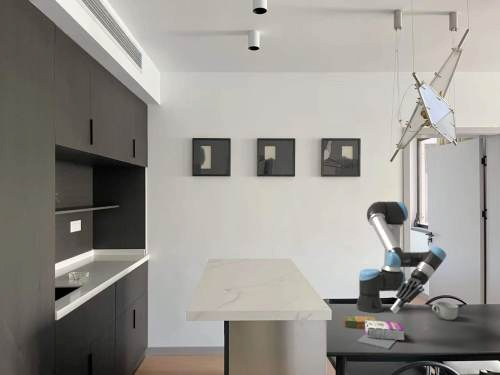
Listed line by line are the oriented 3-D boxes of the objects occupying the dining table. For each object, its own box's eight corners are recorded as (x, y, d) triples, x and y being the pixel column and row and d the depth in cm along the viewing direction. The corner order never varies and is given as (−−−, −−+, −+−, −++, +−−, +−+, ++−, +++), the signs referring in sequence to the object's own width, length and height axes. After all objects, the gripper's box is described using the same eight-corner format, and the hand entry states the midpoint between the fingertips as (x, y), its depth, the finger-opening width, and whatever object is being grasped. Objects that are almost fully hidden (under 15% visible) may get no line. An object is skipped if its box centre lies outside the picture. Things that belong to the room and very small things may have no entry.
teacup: (452, 315, 208) (452, 301, 209) (462, 322, 198) (461, 307, 198) (427, 314, 210) (427, 300, 210) (435, 321, 199) (434, 306, 199)
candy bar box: (399, 332, 179) (364, 329, 183) (399, 322, 180) (364, 319, 183) (404, 341, 169) (367, 337, 172) (404, 330, 169) (367, 327, 172)
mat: (368, 332, 180) (368, 331, 180) (397, 339, 172) (397, 338, 172) (357, 341, 168) (357, 340, 168) (388, 349, 160) (388, 348, 160)
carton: (377, 330, 185) (377, 321, 185) (344, 328, 187) (344, 320, 187) (374, 324, 193) (374, 316, 193) (343, 322, 196) (343, 314, 196)
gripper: (437, 281, 172) (407, 320, 166) (417, 276, 184) (388, 312, 179) (427, 271, 170) (397, 310, 165) (408, 266, 183) (379, 302, 178)
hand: (393, 311), depth 172 cm, fingers closed
